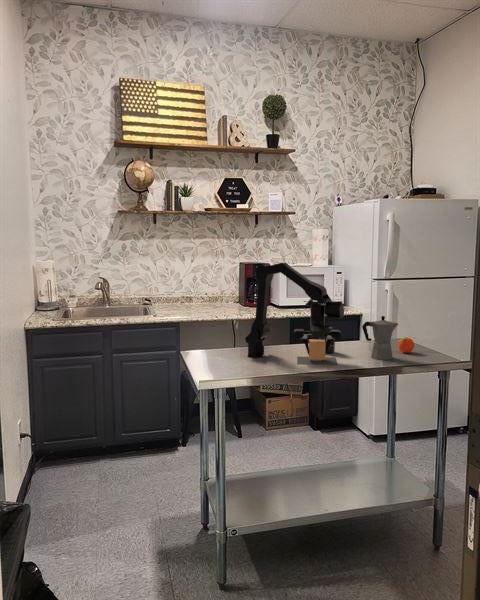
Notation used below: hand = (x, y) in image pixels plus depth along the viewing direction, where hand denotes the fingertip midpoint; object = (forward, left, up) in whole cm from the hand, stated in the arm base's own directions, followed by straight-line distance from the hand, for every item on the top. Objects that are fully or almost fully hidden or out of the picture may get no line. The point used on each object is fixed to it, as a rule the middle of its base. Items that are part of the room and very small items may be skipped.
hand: (316, 354), depth 210 cm
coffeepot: (+27, +13, -4) cm, 30 cm away
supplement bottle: (+5, +17, -4) cm, 18 cm away
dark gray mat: (0, 0, -4) cm, 4 cm away
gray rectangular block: (0, 0, -2) cm, 2 cm away
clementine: (+40, +24, -4) cm, 47 cm away
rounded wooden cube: (0, 0, -1) cm, 1 cm away
